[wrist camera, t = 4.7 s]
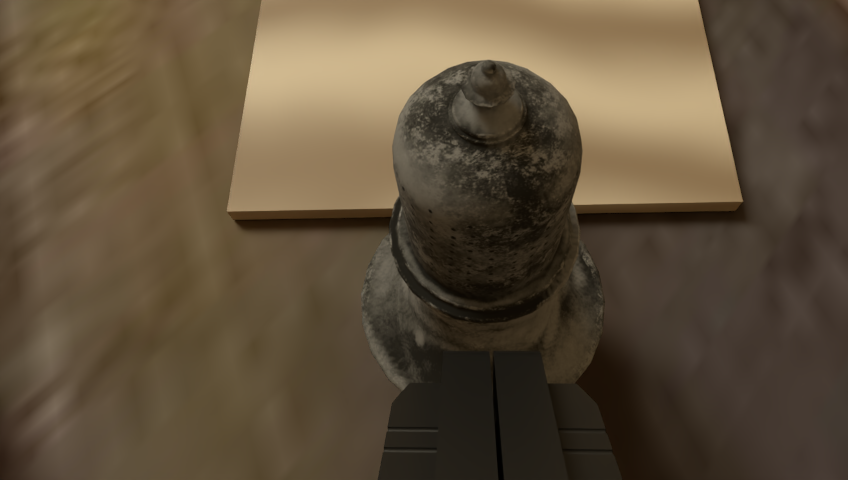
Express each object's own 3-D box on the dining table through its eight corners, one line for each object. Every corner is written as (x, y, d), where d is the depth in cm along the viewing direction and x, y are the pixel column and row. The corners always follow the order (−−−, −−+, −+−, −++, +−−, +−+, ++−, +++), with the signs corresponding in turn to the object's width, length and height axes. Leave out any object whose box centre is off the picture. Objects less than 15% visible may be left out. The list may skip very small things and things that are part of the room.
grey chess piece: (548, 229, 20) (642, -140, 9) (608, 416, 17) (842, 226, 6) (365, 268, 20) (231, -56, 9) (399, 463, 17) (272, 349, 6)
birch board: (735, 210, 19) (742, 201, 19) (233, 219, 21) (226, 211, 20) (661, -130, 26) (665, -144, 26) (285, -110, 27) (281, -122, 27)
